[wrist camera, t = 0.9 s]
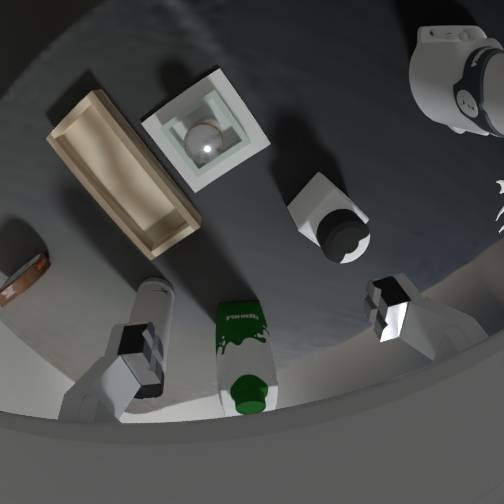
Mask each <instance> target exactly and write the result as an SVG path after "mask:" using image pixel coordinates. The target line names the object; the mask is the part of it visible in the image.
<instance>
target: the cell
mask: <svg viewBox="0 0 504 504" xmlns="http://www.w3.org/2000/svg"><path fill="white" fill-rule="evenodd" d="M222 148H223V136H222V128H221V126H220V124H219V122H218V121H217V120H215V119H214V118H211V117H201V118H199V119H197V120H196V121H195V122H194V123H193V124H192V126H191V128H190V129H189V130H188V132H187V133H186V135H185V138H184V150H185V153H186V154H187V156H188V157H189V158H190V159H192V160H193V161H195V162H199V163H207V162H210V161H212V160H214V159H215V158H217V157H218V155H219V154H220V153H221V150H222Z"/></svg>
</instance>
